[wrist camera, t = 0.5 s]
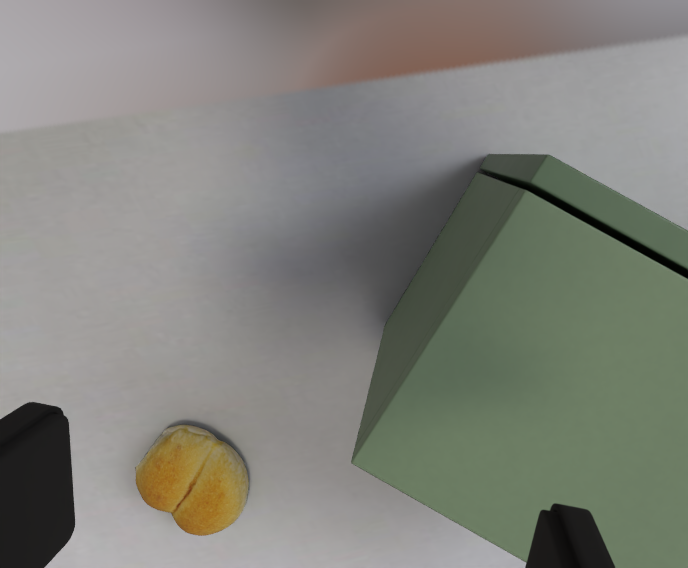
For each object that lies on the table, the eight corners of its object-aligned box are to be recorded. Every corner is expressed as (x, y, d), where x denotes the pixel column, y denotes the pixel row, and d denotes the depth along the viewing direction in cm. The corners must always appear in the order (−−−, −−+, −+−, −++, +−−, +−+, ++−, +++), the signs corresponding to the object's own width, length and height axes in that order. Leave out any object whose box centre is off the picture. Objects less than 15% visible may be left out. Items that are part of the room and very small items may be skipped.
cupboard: (476, 171, 31) (525, 189, 16) (731, 311, 30) (1035, 470, 15) (384, 326, 34) (350, 463, 19) (610, 453, 34) (759, 695, 19)
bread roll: (219, 532, 42) (198, 571, 38) (135, 468, 41) (105, 500, 37) (274, 471, 39) (257, 506, 35) (185, 402, 39) (158, 430, 35)
